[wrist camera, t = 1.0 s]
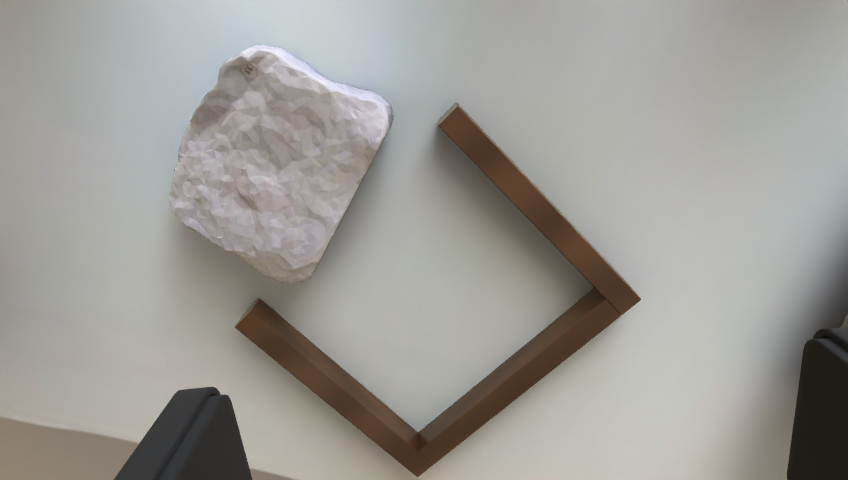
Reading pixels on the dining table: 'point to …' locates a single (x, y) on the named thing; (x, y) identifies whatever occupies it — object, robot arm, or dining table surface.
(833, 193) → the dining table surface
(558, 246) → the frame
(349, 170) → the stone block
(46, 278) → the dining table surface
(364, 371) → the dining table surface
